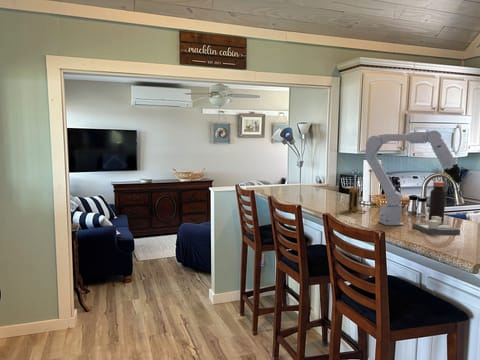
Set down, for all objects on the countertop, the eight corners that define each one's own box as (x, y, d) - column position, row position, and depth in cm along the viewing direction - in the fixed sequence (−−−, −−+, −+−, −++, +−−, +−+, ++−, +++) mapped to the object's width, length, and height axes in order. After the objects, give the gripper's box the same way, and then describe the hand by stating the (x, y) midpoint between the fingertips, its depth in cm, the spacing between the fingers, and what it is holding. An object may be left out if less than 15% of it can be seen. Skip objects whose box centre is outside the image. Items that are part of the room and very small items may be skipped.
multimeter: (372, 214, 202) (374, 177, 200) (354, 213, 202) (355, 177, 200) (363, 209, 216) (365, 175, 214) (346, 208, 216) (348, 175, 214)
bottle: (445, 222, 183) (448, 183, 181) (430, 222, 184) (433, 182, 182) (440, 220, 189) (444, 181, 187) (426, 219, 191) (429, 181, 189)
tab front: (432, 228, 159) (432, 221, 159) (428, 226, 162) (428, 220, 162) (438, 228, 159) (439, 221, 159) (434, 226, 162) (435, 220, 162)
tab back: (434, 223, 169) (435, 217, 168) (431, 222, 172) (431, 216, 171) (441, 223, 169) (441, 217, 169) (437, 222, 172) (437, 216, 172)
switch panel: (429, 234, 159) (429, 229, 159) (412, 227, 172) (413, 222, 171) (459, 234, 160) (460, 229, 160) (441, 227, 173) (441, 222, 173)
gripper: (452, 151, 158) (469, 179, 156) (452, 149, 171) (467, 175, 169) (436, 158, 162) (451, 186, 160) (437, 156, 174) (451, 182, 172)
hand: (458, 181), depth 165 cm, fingers open, 7 cm apart
